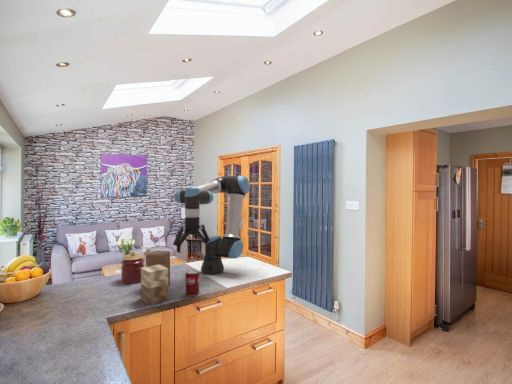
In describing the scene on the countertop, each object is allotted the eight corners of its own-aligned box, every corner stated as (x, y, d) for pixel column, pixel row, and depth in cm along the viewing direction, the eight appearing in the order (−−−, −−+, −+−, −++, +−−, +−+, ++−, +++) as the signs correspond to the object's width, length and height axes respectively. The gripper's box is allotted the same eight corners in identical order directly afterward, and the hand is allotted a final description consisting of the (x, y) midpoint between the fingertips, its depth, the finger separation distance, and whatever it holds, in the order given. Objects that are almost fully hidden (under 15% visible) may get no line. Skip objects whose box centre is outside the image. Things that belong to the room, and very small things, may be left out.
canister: (145, 276, 189) (144, 248, 188) (144, 283, 177) (143, 253, 176) (122, 278, 185) (122, 249, 184) (120, 285, 173) (119, 254, 172)
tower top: (160, 279, 159) (160, 264, 159) (168, 284, 152) (168, 268, 152) (141, 283, 153) (140, 267, 153) (148, 288, 145) (148, 272, 145)
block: (162, 291, 163) (161, 254, 163) (145, 290, 165) (145, 253, 165) (170, 285, 173) (170, 250, 173) (155, 283, 175) (154, 249, 175)
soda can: (194, 290, 165) (194, 268, 165) (202, 294, 160) (202, 271, 159) (182, 293, 160) (182, 271, 159) (190, 297, 155) (190, 274, 154)
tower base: (160, 294, 160) (160, 279, 160) (168, 299, 152) (168, 284, 152) (141, 298, 153) (141, 283, 153) (148, 304, 146) (148, 288, 145)
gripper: (208, 214, 169) (208, 252, 170) (166, 217, 153) (166, 258, 154) (216, 215, 164) (215, 254, 164) (173, 218, 147) (172, 261, 148)
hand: (192, 256), depth 159 cm, fingers open, 13 cm apart
